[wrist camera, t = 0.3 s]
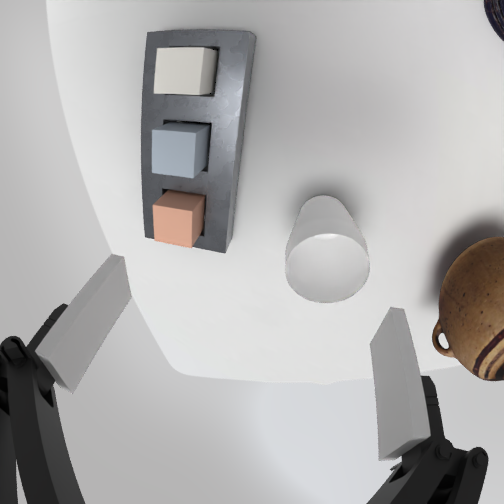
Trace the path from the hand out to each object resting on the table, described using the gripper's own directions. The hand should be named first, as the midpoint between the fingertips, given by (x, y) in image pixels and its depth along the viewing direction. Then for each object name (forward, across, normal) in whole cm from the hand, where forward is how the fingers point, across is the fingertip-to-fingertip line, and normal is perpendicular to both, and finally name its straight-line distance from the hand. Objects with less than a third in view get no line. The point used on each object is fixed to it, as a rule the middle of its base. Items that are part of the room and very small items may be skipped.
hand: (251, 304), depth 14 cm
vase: (+26, +33, -10) cm, 44 cm away
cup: (+26, +6, -8) cm, 28 cm away
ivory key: (+23, -11, +10) cm, 28 cm away
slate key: (+23, -12, +1) cm, 26 cm away
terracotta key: (+23, -12, -8) cm, 27 cm away
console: (+26, -12, +1) cm, 29 cm away
